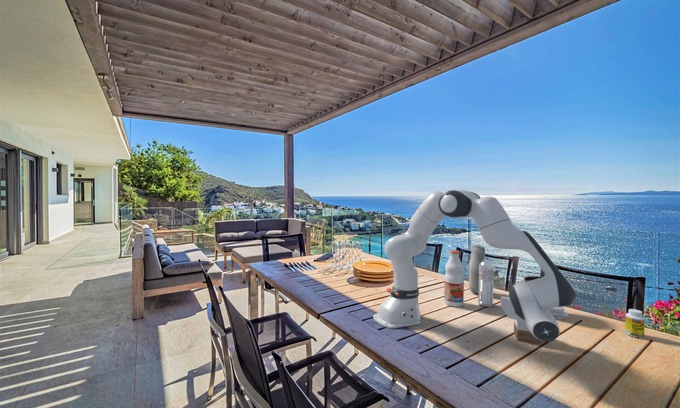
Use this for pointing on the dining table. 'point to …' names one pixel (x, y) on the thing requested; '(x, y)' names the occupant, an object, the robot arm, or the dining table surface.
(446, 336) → the dining table surface
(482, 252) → the grey thermos flask
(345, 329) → the dining table surface
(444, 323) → the dining table surface
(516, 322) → the block top
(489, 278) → the water bottle
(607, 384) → the dining table surface
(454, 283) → the fruit juice
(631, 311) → the supplement bottle
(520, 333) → the block bottom
